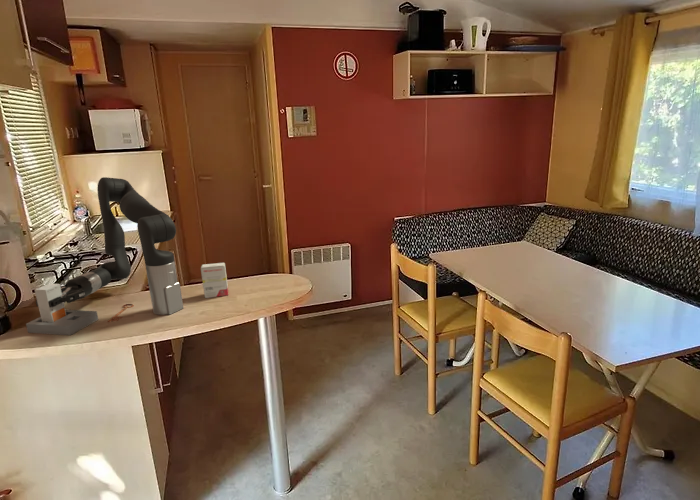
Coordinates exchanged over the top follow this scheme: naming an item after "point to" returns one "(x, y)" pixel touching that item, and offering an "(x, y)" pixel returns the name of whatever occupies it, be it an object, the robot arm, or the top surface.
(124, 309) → the key
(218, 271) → the ink box
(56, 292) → the skincare box
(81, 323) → the holder
